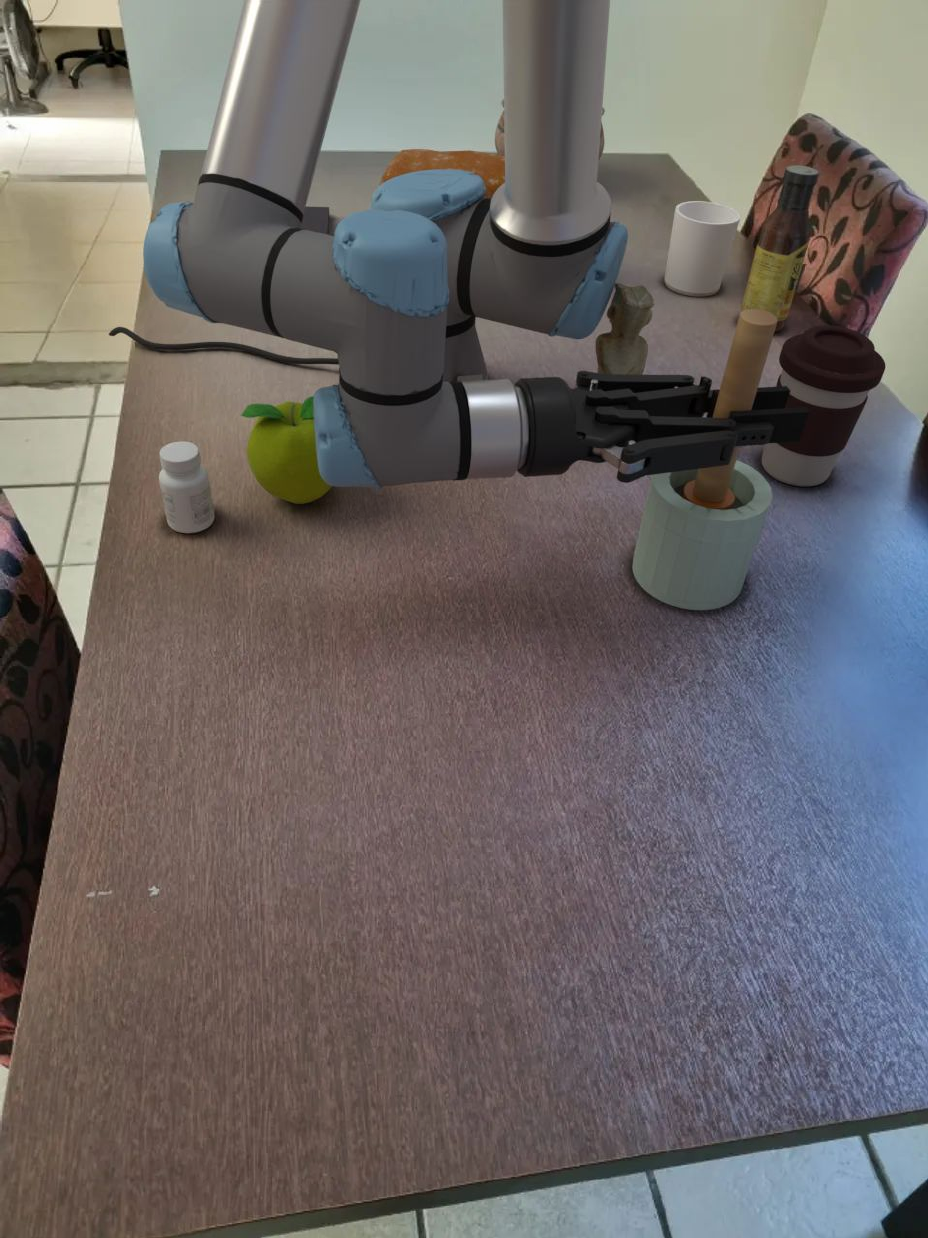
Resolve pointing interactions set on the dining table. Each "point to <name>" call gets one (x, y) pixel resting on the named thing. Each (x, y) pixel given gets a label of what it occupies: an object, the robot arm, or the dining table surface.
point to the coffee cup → (822, 399)
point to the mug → (700, 247)
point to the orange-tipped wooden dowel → (735, 402)
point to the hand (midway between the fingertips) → (792, 413)
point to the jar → (699, 540)
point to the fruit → (285, 451)
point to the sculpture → (625, 332)
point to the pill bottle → (185, 488)
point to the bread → (450, 165)
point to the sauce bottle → (782, 247)
